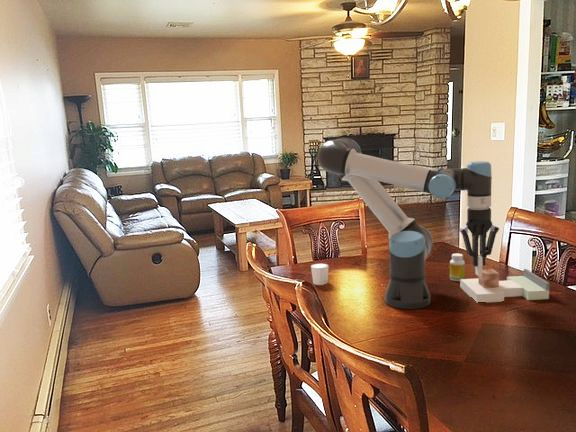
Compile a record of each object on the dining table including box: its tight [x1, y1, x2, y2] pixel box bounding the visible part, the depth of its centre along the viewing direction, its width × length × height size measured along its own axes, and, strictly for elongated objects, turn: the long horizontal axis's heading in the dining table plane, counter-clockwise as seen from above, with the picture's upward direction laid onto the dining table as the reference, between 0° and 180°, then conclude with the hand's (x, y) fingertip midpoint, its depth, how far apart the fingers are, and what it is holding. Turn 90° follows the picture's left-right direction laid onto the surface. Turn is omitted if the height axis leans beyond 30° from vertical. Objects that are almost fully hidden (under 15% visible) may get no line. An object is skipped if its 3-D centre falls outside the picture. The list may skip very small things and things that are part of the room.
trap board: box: [459, 268, 550, 304], centre depth 174 cm, size 24×16×6 cm, turn 91°
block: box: [478, 268, 500, 288], centre depth 173 cm, size 5×5×5 cm
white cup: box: [310, 263, 329, 286], centre depth 195 cm, size 7×7×7 cm
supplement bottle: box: [449, 252, 466, 282], centre depth 190 cm, size 5×5×10 cm
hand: (478, 274), depth 173 cm, fingers closed
